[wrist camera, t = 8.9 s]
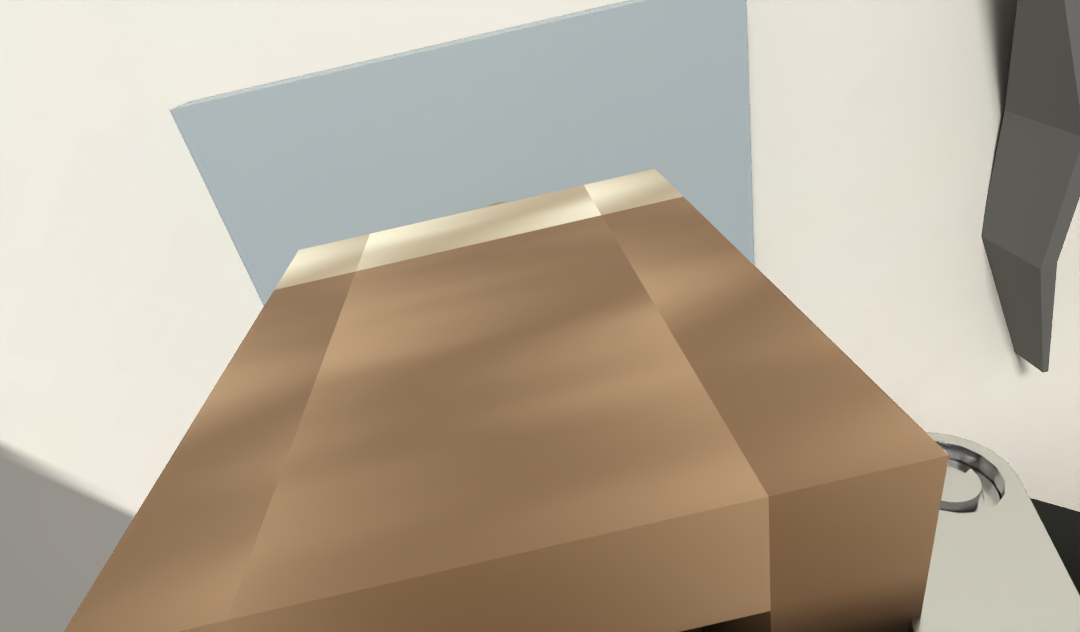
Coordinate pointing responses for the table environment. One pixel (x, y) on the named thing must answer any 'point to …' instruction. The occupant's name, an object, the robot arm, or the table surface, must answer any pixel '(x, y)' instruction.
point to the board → (484, 128)
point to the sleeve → (534, 445)
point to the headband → (1035, 171)
